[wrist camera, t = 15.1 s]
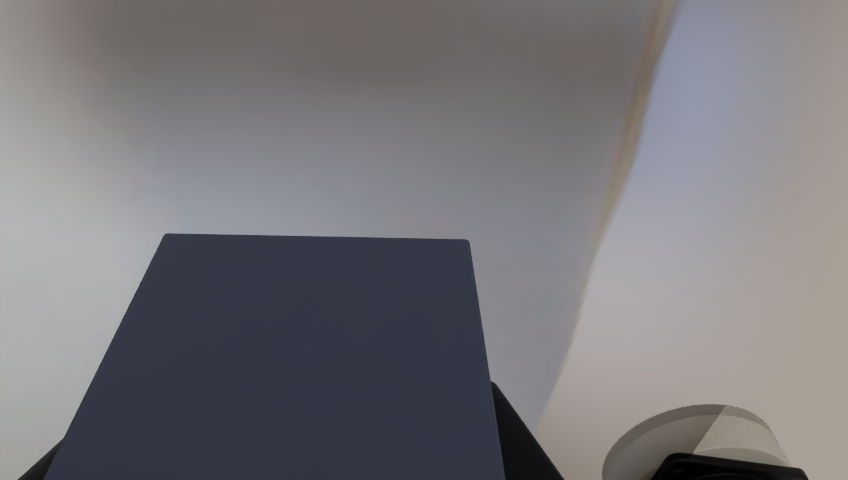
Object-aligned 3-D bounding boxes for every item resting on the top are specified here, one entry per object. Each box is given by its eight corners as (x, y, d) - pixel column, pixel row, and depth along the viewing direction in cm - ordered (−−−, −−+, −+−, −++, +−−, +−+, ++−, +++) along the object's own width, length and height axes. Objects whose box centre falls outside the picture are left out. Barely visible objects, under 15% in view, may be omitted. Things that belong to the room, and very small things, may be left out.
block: (469, 237, 9) (510, 498, 6) (449, 438, 12) (470, 709, 8) (163, 231, 9) (30, 498, 6) (203, 437, 11) (124, 713, 8)
